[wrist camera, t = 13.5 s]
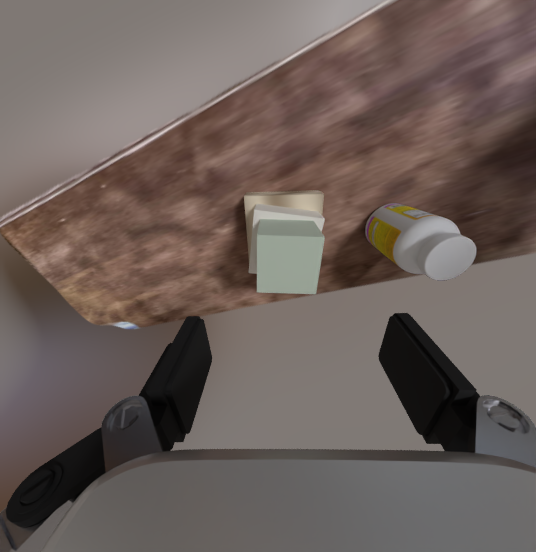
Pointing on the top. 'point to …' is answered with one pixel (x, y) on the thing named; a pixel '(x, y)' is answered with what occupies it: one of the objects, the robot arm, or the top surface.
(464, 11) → the top surface
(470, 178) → the top surface
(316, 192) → the tower base block
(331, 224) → the top surface
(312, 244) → the stack block
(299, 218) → the tower top block
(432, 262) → the supplement bottle
